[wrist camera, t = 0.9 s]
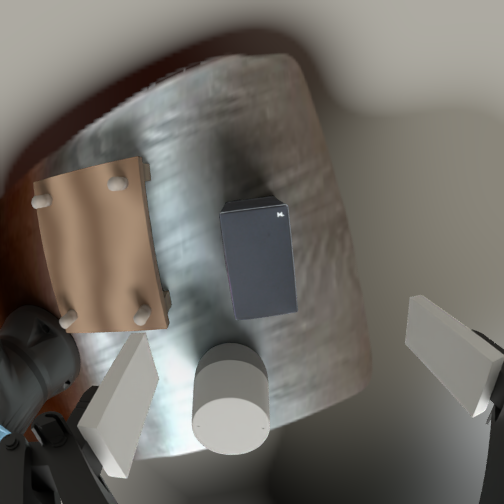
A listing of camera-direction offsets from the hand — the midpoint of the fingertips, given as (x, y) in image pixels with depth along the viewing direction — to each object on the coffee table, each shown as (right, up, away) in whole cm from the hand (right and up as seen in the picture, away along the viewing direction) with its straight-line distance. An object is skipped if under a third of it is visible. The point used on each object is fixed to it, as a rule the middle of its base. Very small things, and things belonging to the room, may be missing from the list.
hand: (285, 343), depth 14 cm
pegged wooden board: (-19, +5, +23) cm, 30 cm away
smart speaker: (-4, -11, +28) cm, 30 cm away
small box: (-1, +6, +24) cm, 25 cm away
